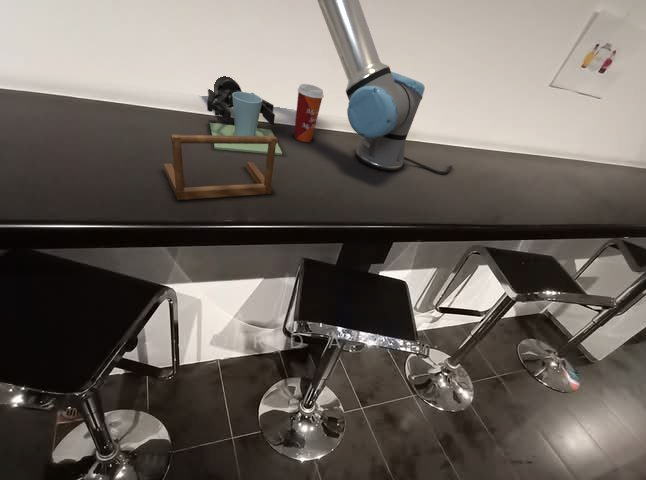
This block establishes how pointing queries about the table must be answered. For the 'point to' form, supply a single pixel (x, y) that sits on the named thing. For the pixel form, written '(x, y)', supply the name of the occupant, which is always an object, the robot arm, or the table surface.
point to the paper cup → (307, 111)
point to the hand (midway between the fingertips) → (252, 119)
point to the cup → (246, 113)
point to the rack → (261, 187)
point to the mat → (254, 148)
